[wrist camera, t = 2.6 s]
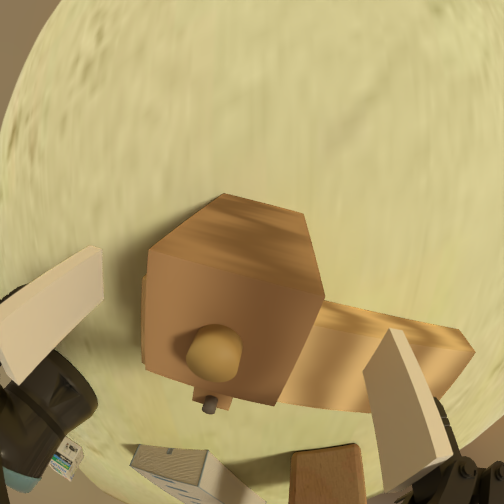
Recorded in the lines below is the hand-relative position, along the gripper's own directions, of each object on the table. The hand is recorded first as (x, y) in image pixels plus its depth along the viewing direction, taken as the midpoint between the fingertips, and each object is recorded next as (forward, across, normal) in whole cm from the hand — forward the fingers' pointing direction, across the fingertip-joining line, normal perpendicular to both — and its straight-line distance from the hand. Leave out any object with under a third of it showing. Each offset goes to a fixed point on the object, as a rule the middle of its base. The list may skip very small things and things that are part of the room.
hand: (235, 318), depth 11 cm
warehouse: (+11, +3, -51) cm, 52 cm away
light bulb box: (+10, -34, -69) cm, 78 cm away
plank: (+10, +8, -8) cm, 15 cm away
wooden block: (+11, +18, -31) cm, 38 cm away
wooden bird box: (+10, -1, -5) cm, 11 cm away
